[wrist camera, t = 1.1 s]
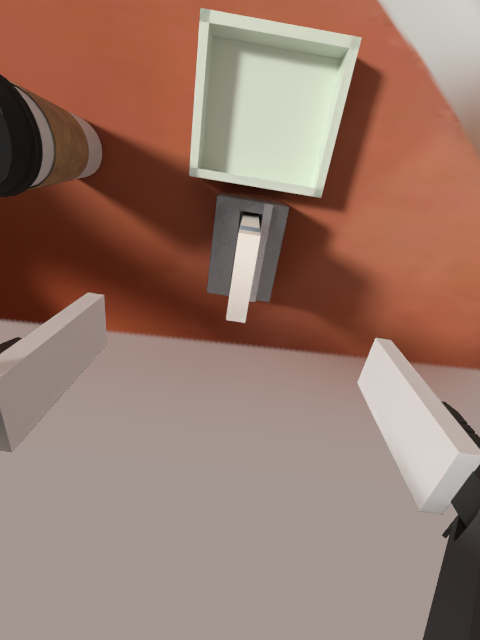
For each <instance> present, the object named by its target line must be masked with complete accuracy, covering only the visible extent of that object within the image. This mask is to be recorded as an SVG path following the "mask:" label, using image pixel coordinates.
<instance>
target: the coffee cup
mask: <svg viewBox="0 0 480 640" xmlns="http://www.w3.org/2000/svg"><path fill="white" fill-rule="evenodd" d="M101 161H102V145H101V142H100V139H99V137H98V135H97V133H96V132H95V130H94V129H93V128H92V126H91V125H90V124H89V123H87V122H86V121H85V120H83V119H82V118H80V117H78V116H76V115H74V114H72V113H70V112H67V111H66V110H64V109H62V108H60V107H58V106H57V105H55V104H53V103H51V102H49V101H47V100H45V99H43V98H42V97H40V96H38V95H36V94H34V93H32V92H30V91H28V90H26V89H25V88H23V87H21V86H19V85H17V84H15V83H13V82H11V81H9V80H7V79H6V78H5V77H3V76H2V75H1V74H0V197H8V196H14V195H17V194H20V193H22V192H24V191H26V190H31V189H36V188H40V187H44V186H48V185H53V184H57V183H61V182H65V181H70V180H73V179H77V178H83V177H88V176H90V175H92V174H93V173H95V172H96V171H97V169H98V168H99V166H100V164H101Z"/></svg>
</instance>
